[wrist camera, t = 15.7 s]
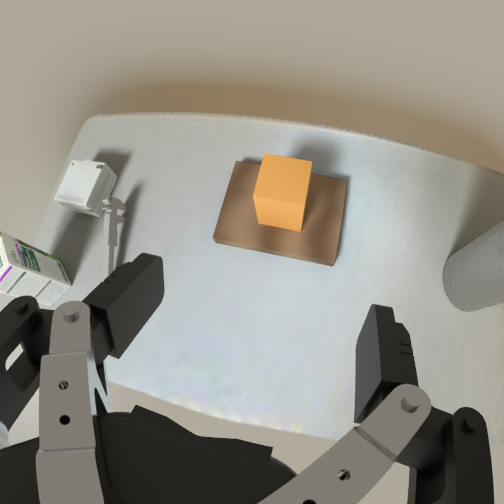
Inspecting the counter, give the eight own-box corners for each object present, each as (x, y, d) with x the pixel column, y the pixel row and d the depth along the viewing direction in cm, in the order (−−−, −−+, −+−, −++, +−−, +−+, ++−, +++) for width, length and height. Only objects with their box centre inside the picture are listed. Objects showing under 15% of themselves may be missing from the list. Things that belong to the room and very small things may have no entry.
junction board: (344, 187, 44) (346, 180, 42) (332, 266, 41) (335, 262, 39) (237, 168, 47) (235, 160, 45) (215, 242, 43) (212, 237, 41)
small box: (69, 211, 48) (52, 199, 43) (86, 172, 50) (72, 157, 45) (101, 219, 47) (85, 206, 42) (120, 176, 49) (106, 160, 44)
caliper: (122, 208, 47) (103, 190, 41) (128, 208, 47) (110, 190, 41) (106, 340, 41) (82, 337, 35) (112, 341, 41) (89, 339, 35)
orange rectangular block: (308, 193, 42) (312, 161, 34) (300, 231, 41) (304, 204, 33) (267, 186, 43) (264, 153, 35) (258, 223, 41) (252, 195, 34)
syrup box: (73, 285, 44) (10, 260, 30) (50, 307, 43) (-14, 289, 29) (60, 258, 45) (0, 228, 31) (38, 280, 45) (-22, 256, 31)
